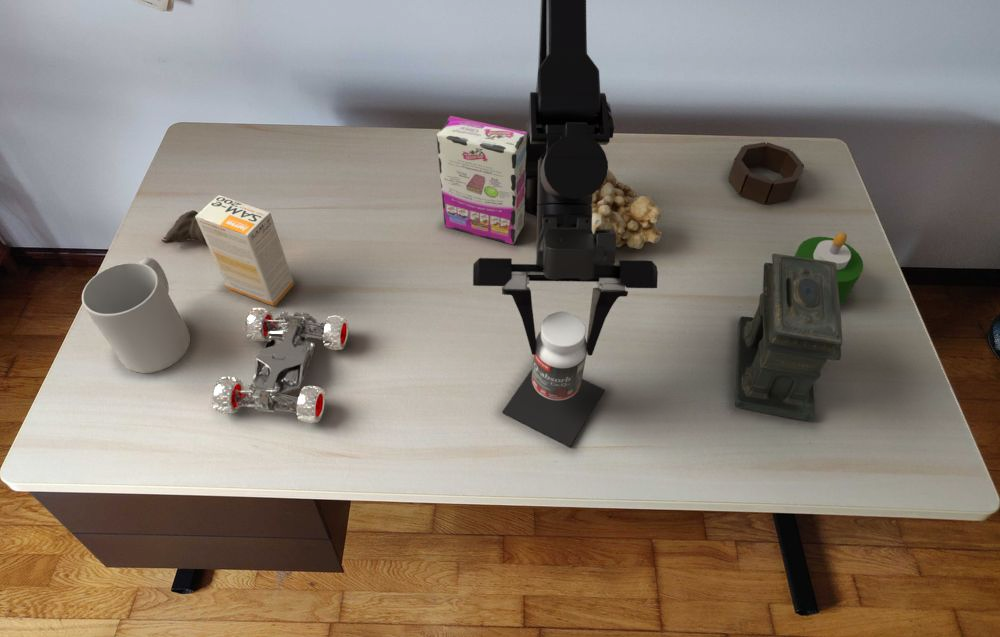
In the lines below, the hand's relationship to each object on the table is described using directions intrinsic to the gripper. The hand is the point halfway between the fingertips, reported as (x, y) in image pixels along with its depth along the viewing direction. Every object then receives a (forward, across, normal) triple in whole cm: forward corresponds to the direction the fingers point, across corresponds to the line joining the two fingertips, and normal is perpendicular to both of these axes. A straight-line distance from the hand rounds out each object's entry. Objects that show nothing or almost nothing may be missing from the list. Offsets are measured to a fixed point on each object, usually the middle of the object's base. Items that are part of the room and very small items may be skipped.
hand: (561, 354), depth 74 cm
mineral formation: (-14, +9, +31) cm, 35 cm away
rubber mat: (+7, 0, +9) cm, 11 cm away
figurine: (-12, -49, +28) cm, 58 cm away
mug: (+1, -50, +15) cm, 52 cm away
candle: (-6, +36, +23) cm, 43 cm away
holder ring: (-22, +34, +38) cm, 56 cm away
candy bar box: (-14, -9, +31) cm, 35 cm away
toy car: (+5, -32, +11) cm, 35 cm away
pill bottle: (+4, 0, +6) cm, 7 cm away
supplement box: (-5, -39, +22) cm, 45 cm away
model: (+4, +27, +12) cm, 30 cm away
